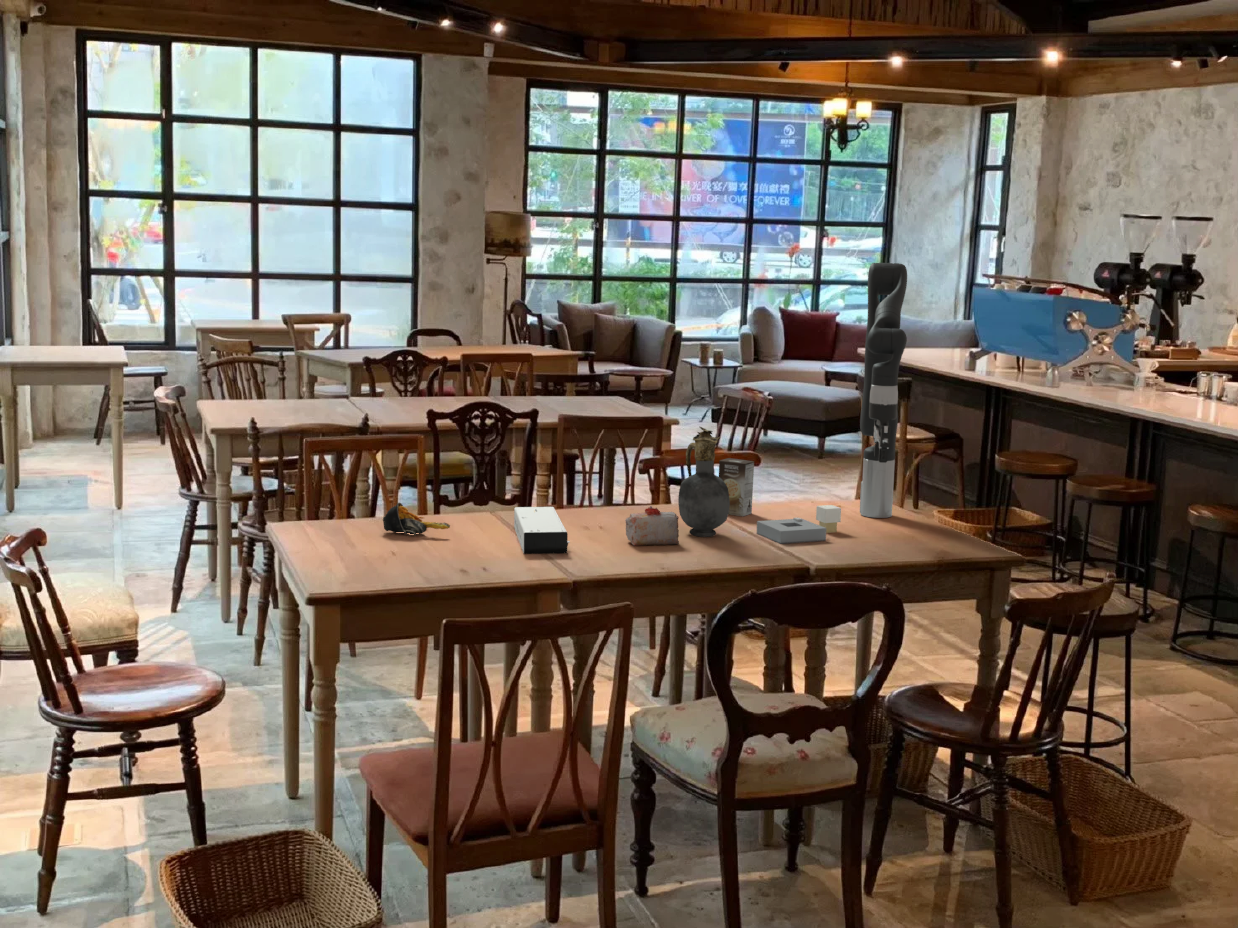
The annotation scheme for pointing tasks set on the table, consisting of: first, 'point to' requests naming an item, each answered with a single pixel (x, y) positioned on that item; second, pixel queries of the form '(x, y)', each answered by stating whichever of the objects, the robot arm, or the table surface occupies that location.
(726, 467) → the coffee box
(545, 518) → the laminator
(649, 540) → the food item
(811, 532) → the socket plate
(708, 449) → the pitcher
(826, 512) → the plug
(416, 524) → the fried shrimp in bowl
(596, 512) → the table surface
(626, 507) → the table surface
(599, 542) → the table surface
